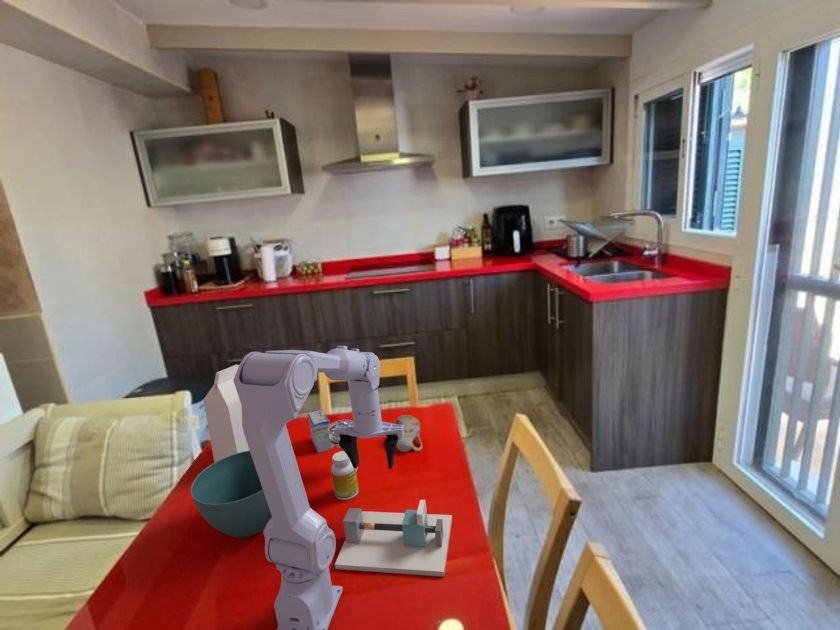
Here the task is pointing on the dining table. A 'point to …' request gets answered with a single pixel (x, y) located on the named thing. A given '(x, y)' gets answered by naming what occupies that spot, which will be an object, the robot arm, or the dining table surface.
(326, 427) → the medicine box
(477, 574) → the dining table surface
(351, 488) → the supplement bottle
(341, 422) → the wineglass
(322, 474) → the dining table surface
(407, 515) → the slider block
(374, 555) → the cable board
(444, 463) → the dining table surface
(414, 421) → the mug
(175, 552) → the dining table surface
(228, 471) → the teal bowl
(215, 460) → the milk
